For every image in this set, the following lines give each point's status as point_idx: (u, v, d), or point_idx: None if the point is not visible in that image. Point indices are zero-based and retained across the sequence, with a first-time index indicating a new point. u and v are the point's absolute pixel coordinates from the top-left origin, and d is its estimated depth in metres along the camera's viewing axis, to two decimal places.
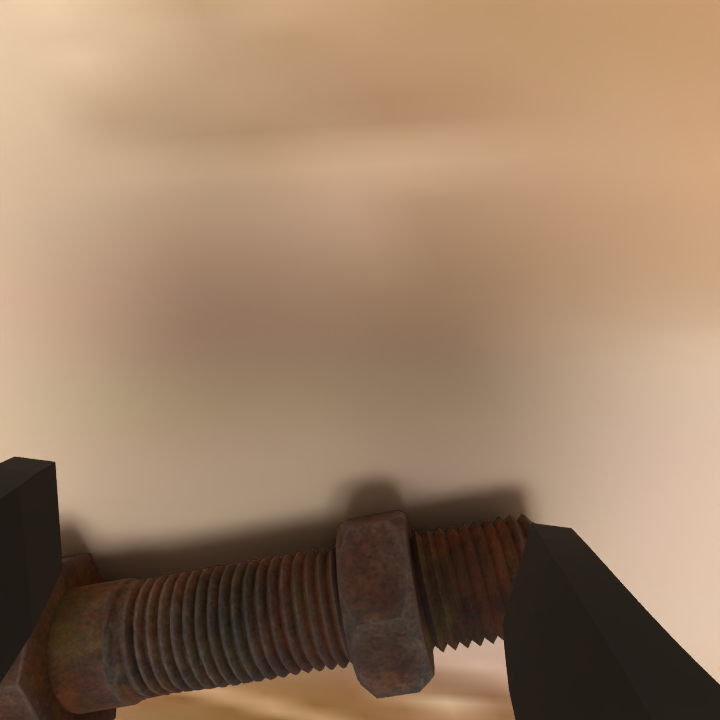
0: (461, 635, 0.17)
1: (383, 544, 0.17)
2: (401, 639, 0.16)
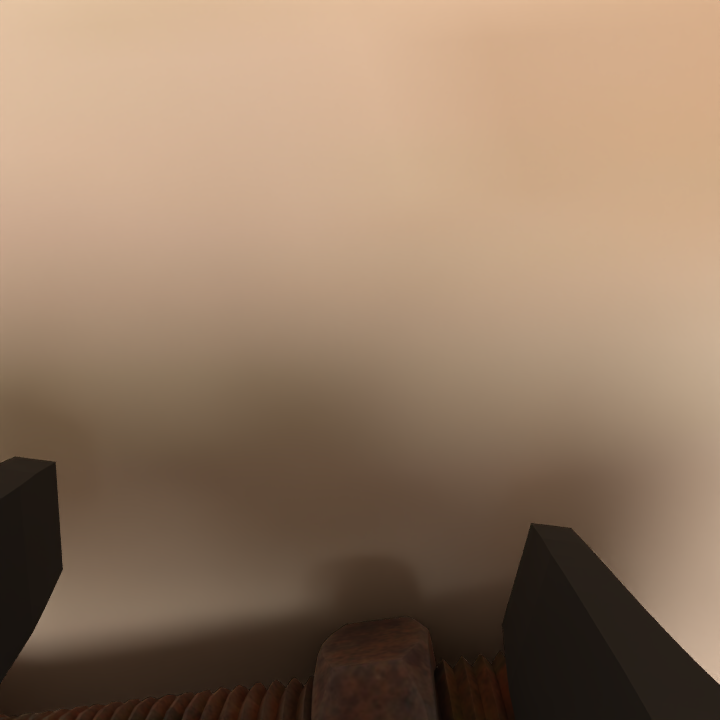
0: None
1: (394, 704, 0.10)
2: None
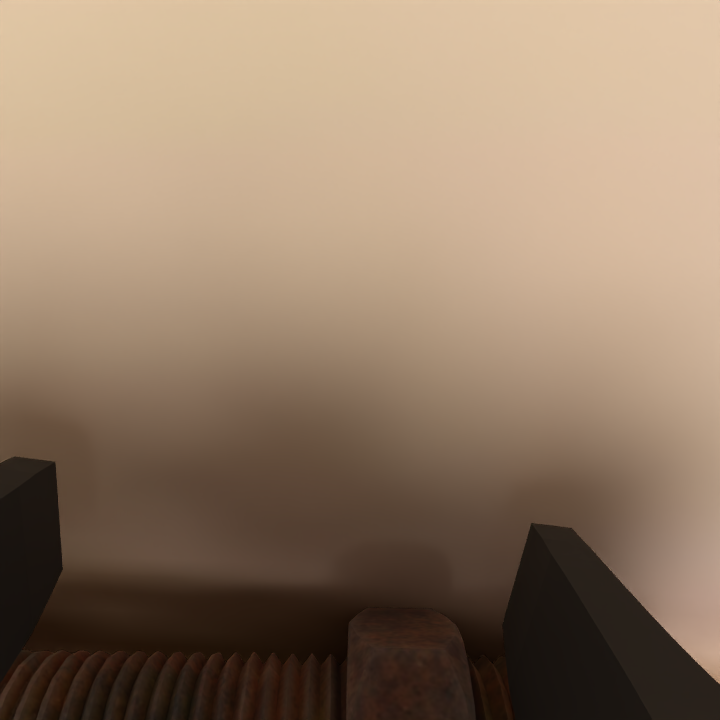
0: None
1: (434, 693, 0.10)
2: None
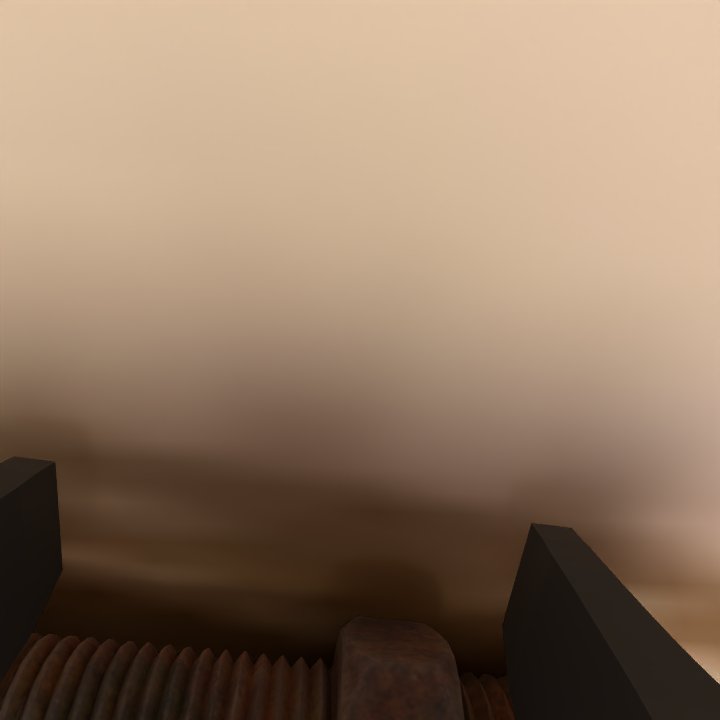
0: None
1: (427, 707, 0.10)
2: None
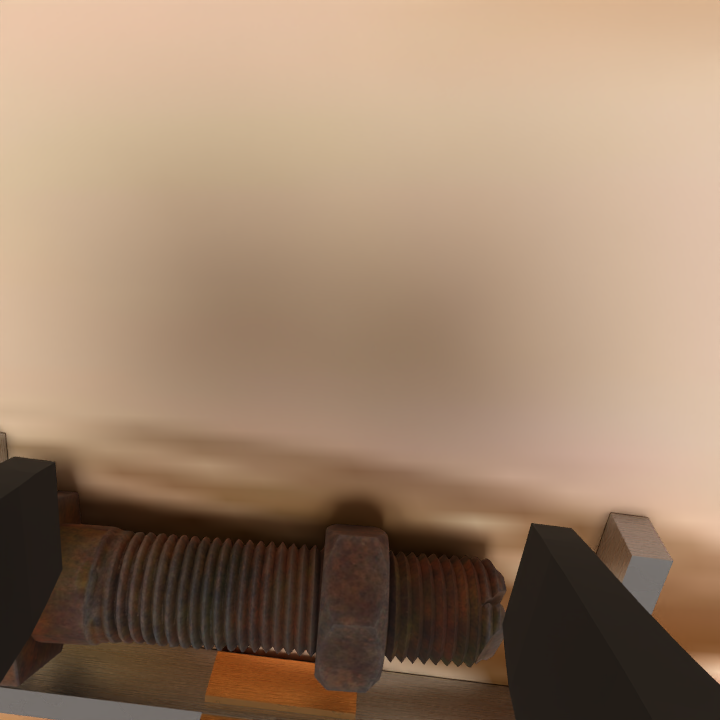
0: (414, 652, 0.19)
1: (369, 558, 0.19)
2: (367, 645, 0.18)
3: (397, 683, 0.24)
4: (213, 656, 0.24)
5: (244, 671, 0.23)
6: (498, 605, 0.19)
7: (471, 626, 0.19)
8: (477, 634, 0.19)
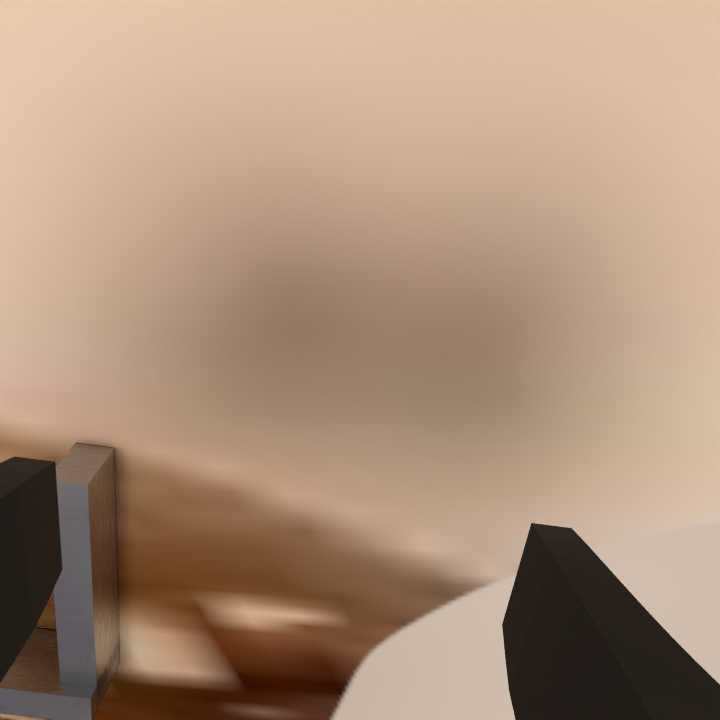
0: None
1: None
2: None
3: None
4: None
5: None
6: None
7: None
8: None
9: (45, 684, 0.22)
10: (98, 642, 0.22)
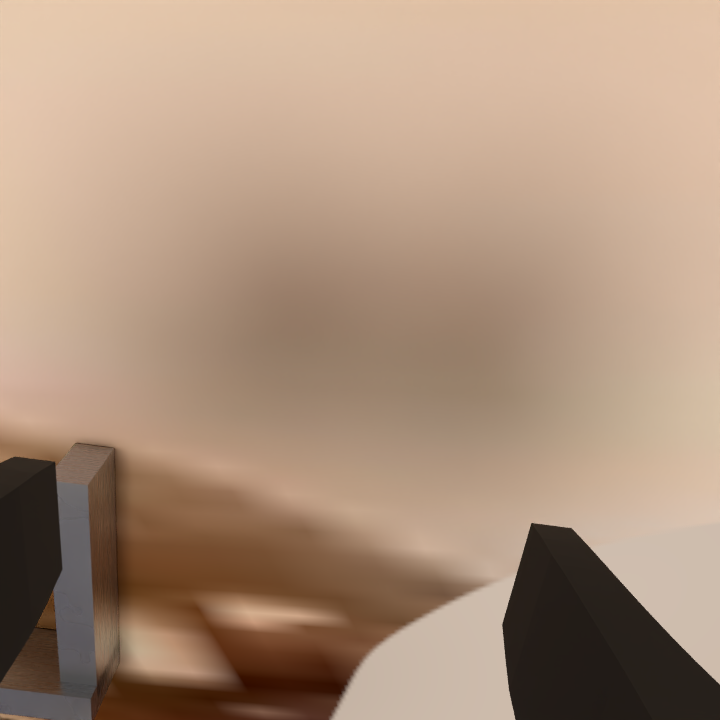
0: None
1: None
2: None
3: None
4: None
5: None
6: None
7: None
8: None
9: (45, 684, 0.22)
10: (98, 642, 0.22)
